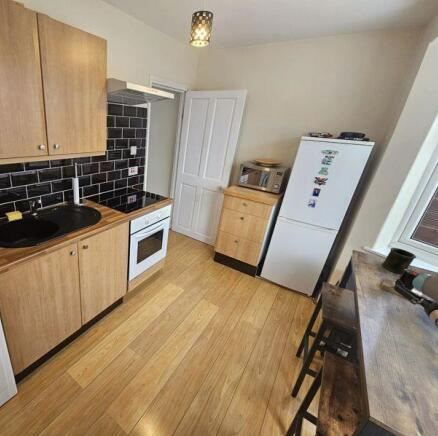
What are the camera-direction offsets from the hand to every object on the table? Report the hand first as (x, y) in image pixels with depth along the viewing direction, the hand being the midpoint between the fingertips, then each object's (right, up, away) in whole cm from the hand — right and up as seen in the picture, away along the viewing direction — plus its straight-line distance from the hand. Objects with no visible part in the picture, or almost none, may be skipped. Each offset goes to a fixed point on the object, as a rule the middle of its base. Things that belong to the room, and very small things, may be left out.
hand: (415, 286), depth 111 cm
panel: (+2, -6, +9) cm, 11 cm away
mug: (+22, +2, +31) cm, 39 cm away
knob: (+2, -4, +8) cm, 9 cm away
